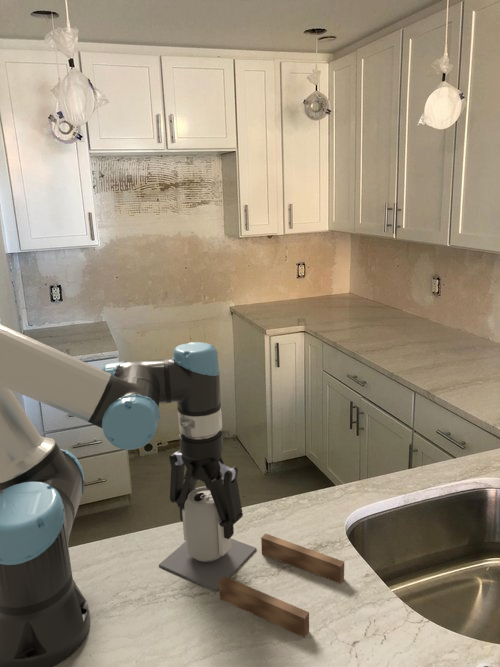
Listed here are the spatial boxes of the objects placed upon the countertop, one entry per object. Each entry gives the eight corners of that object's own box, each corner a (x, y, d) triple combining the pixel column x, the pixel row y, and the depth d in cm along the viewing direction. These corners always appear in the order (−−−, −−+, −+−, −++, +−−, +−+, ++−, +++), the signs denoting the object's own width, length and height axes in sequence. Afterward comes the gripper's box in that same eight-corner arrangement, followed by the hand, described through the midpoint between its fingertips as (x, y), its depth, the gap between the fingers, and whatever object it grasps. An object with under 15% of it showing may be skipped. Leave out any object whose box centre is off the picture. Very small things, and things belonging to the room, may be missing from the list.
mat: (159, 566, 100) (158, 564, 100) (202, 529, 111) (202, 527, 110) (216, 591, 93) (216, 590, 93) (256, 549, 104) (256, 547, 104)
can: (194, 537, 106) (191, 481, 103) (232, 541, 104) (229, 485, 101) (182, 562, 99) (178, 504, 96) (222, 567, 97) (219, 507, 94)
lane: (219, 598, 92) (218, 581, 91) (265, 549, 104) (265, 533, 103) (304, 637, 83) (304, 618, 82) (344, 578, 95) (344, 561, 94)
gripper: (142, 426, 98) (152, 537, 103) (236, 453, 87) (241, 575, 93) (170, 412, 104) (178, 517, 110) (261, 434, 93) (264, 550, 99)
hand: (207, 543), depth 101 cm, fingers closed on can, 7 cm apart
